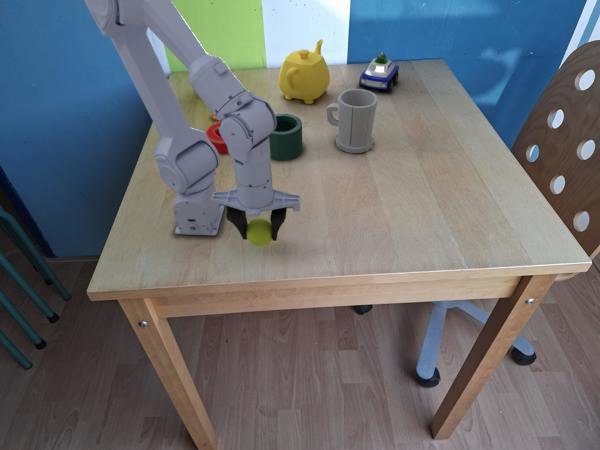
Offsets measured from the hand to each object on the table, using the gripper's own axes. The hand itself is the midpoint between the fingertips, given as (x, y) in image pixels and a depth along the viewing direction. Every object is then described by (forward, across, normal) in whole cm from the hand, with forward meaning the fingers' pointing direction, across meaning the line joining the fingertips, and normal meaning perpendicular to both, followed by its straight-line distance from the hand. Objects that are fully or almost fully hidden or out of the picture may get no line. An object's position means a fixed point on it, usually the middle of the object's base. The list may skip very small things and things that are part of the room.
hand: (260, 236), depth 76 cm
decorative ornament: (+3, -13, +34) cm, 37 cm away
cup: (+3, +17, +35) cm, 39 cm away
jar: (+3, +1, +32) cm, 32 cm away
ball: (-1, 0, 0) cm, 1 cm away
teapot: (+3, +5, +60) cm, 61 cm away
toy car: (+3, +26, +66) cm, 71 cm away
